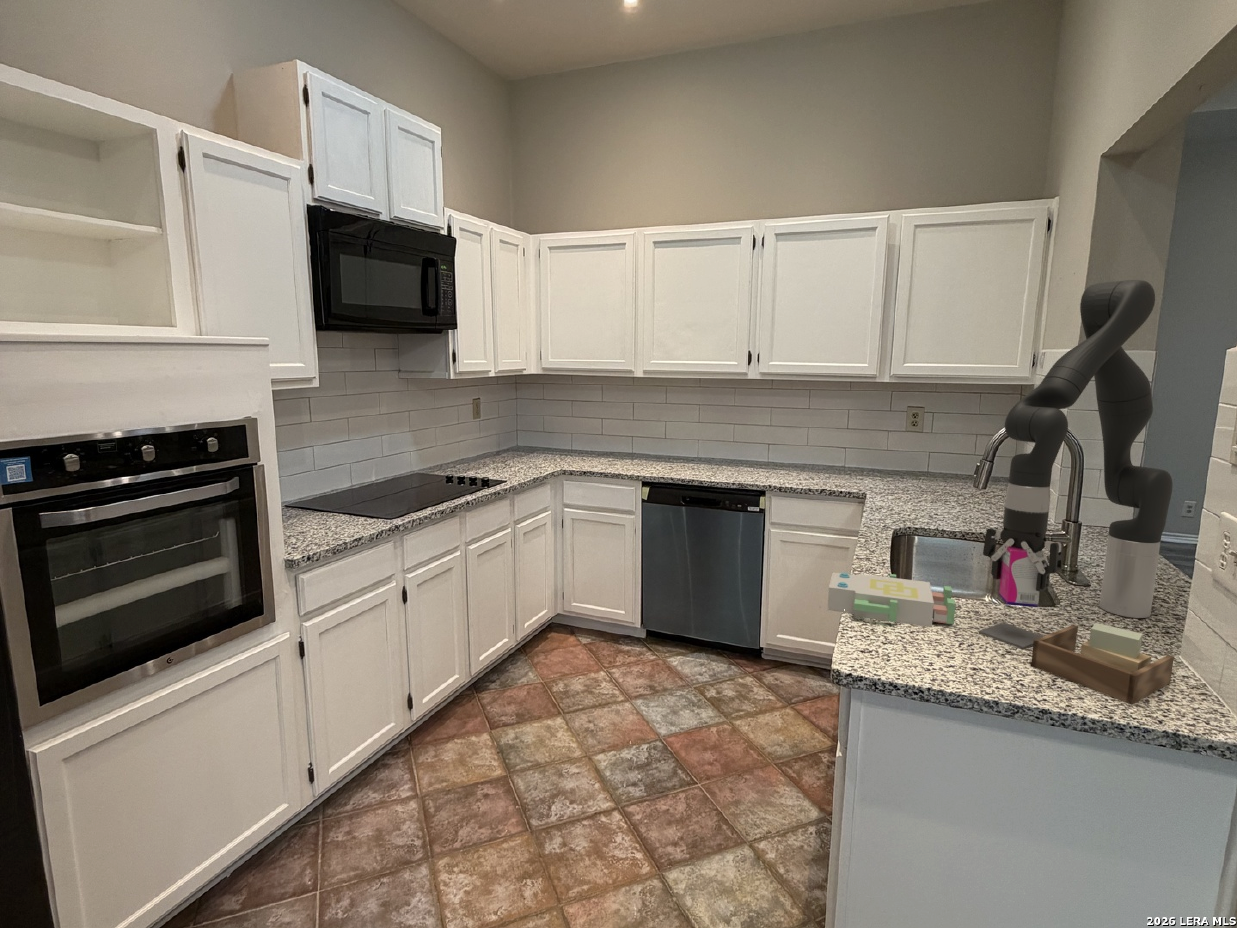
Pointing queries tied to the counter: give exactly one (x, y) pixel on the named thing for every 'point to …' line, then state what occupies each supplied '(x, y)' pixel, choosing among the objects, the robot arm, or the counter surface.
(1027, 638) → the mat
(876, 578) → the decorative block
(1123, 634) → the offcut top
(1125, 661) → the offcut low
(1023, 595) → the supplement box
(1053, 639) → the rack
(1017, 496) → the robot arm
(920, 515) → the counter surface
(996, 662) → the counter surface
